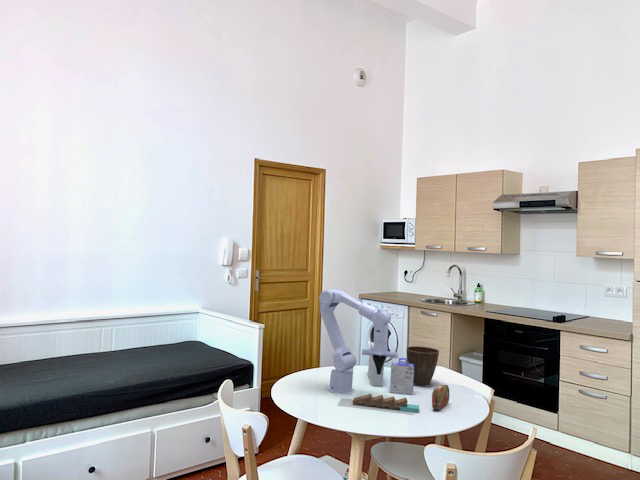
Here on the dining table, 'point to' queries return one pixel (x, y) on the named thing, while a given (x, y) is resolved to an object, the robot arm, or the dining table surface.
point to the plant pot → (422, 363)
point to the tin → (440, 397)
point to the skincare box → (374, 371)
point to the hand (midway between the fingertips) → (378, 373)
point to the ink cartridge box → (402, 377)
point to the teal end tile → (410, 408)
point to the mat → (349, 403)
